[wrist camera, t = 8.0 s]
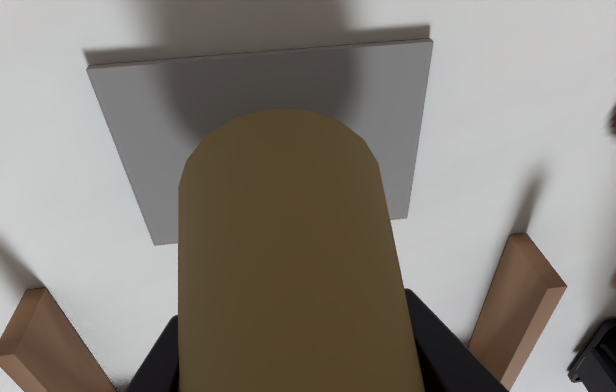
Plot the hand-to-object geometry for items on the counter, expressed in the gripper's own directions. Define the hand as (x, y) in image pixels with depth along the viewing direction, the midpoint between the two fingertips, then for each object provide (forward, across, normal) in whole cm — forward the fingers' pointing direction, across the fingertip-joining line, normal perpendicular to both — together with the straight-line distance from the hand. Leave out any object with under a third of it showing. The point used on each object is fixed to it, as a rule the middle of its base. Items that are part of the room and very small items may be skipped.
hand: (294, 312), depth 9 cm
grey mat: (+7, 0, 0) cm, 7 cm away
